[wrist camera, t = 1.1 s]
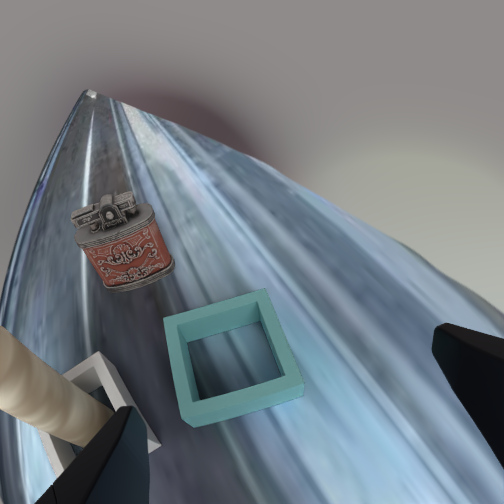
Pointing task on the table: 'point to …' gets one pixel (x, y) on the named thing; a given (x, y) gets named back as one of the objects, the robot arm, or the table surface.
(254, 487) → the table surface
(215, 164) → the table surface
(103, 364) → the grey socket
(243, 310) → the teal socket
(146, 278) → the lighter
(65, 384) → the peg
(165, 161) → the table surface
